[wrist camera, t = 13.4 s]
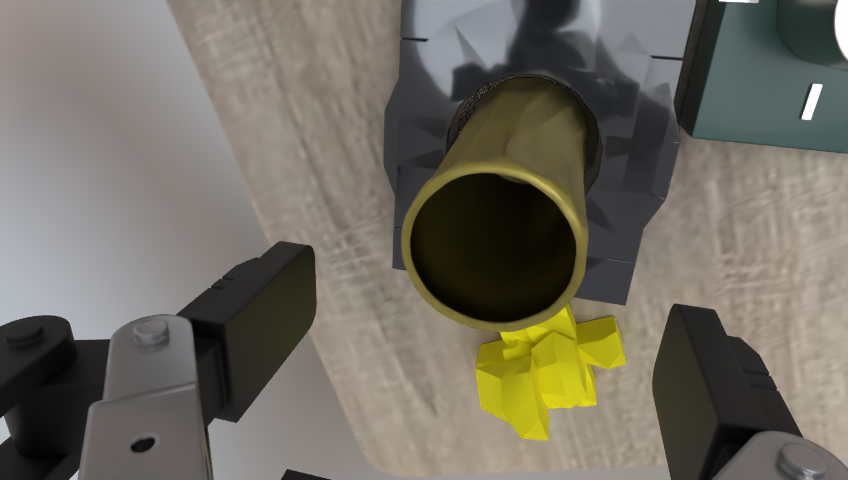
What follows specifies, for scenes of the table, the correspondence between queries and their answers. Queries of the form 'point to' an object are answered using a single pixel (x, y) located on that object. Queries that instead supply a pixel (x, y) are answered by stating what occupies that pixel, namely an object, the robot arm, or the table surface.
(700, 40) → the panel
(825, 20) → the grey rotary knob
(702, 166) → the table surface
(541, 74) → the square flange with hole
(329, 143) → the table surface
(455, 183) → the vase
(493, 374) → the yellow faceted cluster
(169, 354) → the robot arm
